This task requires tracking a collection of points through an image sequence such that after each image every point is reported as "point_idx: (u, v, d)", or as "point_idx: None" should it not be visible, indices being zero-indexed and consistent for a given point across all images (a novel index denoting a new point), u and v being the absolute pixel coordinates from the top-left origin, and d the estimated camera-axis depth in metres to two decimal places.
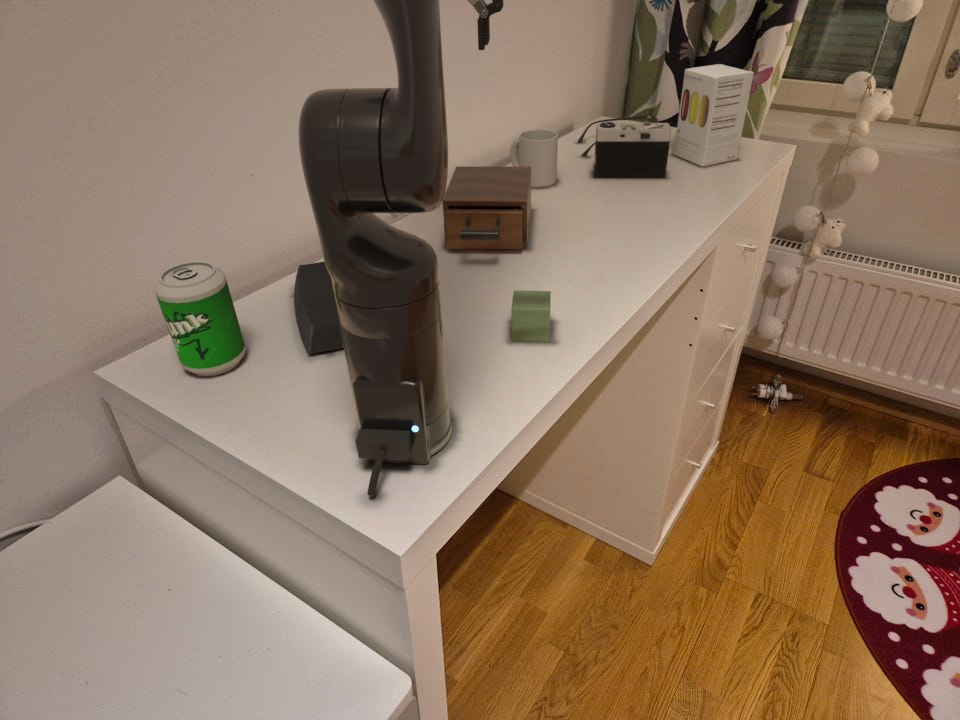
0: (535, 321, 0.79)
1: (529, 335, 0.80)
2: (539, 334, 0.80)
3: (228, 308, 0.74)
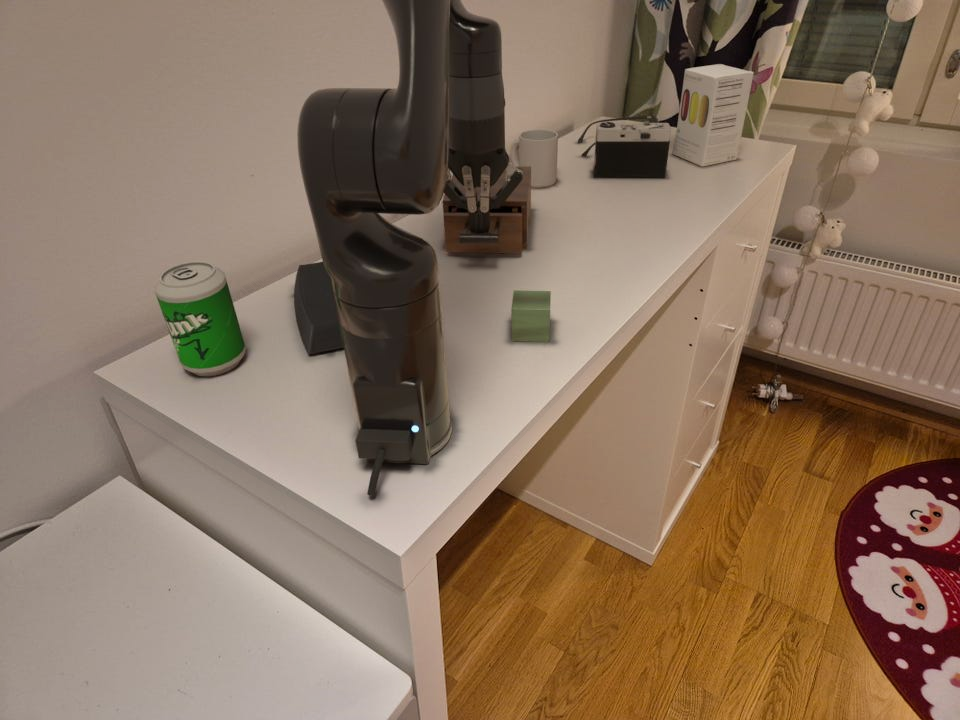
0: (535, 321, 0.79)
1: (529, 335, 0.80)
2: (539, 334, 0.80)
3: (228, 308, 0.74)
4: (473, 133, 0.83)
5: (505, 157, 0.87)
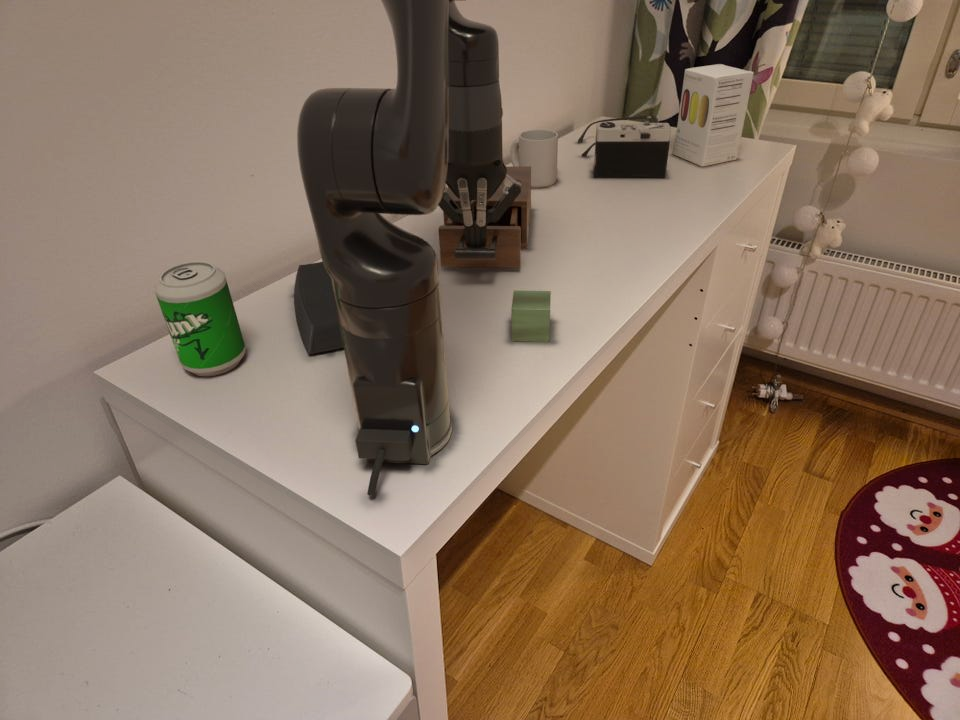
0: (535, 321, 0.79)
1: (529, 335, 0.80)
2: (539, 334, 0.80)
3: (228, 308, 0.74)
4: (469, 145, 0.79)
5: (502, 169, 0.83)
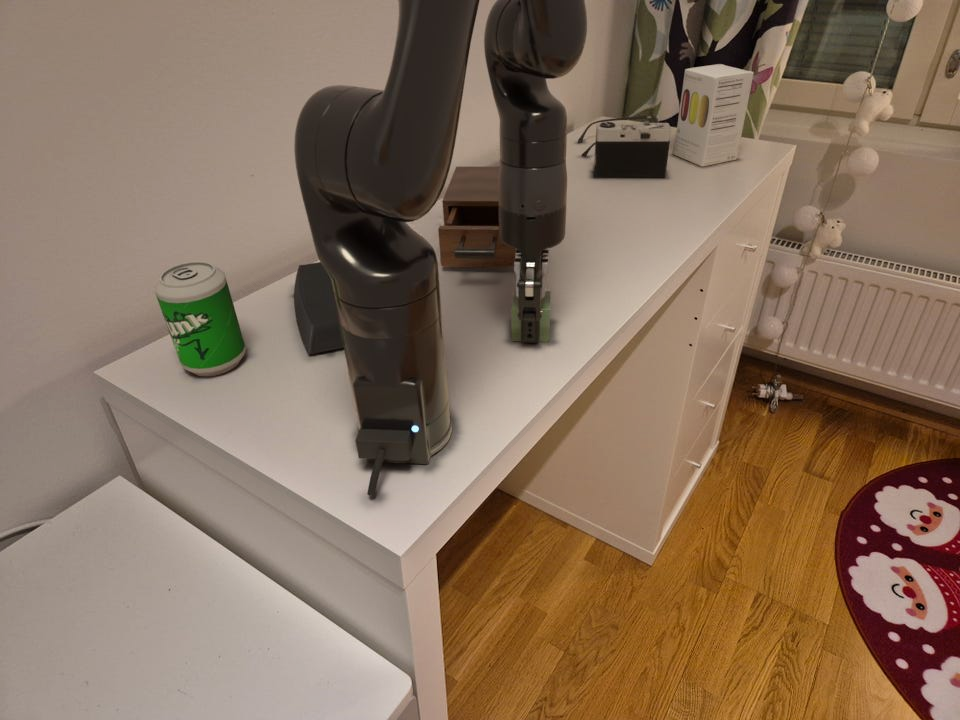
0: None
1: None
2: (539, 334, 0.80)
3: (228, 308, 0.74)
4: None
5: (522, 263, 0.73)
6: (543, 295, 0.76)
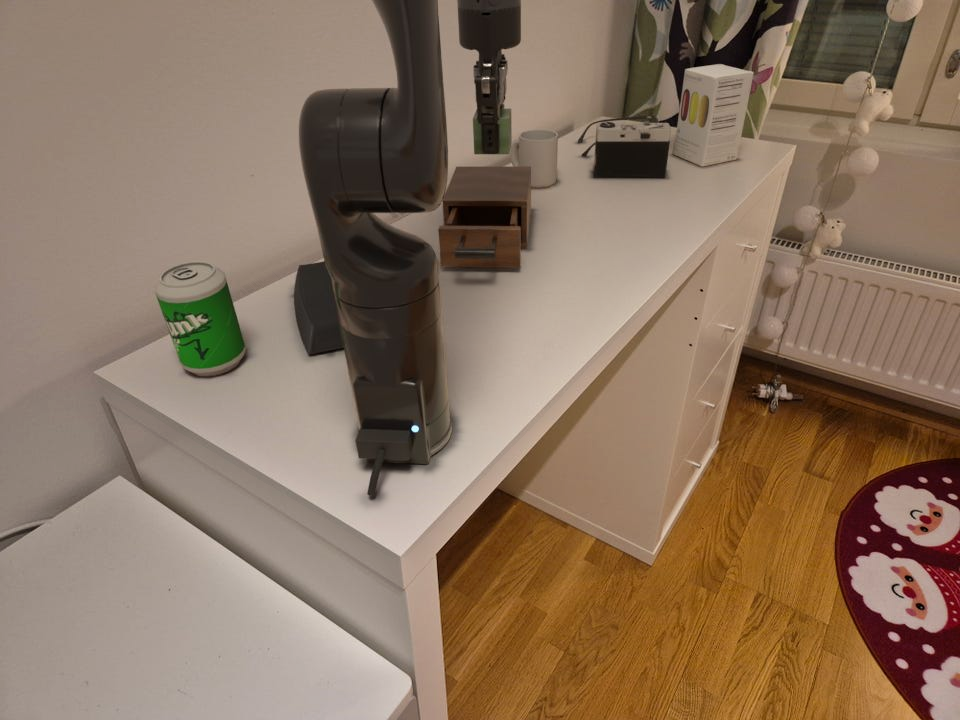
0: None
1: None
2: None
3: (228, 308, 0.74)
4: (458, 21, 0.79)
5: (480, 63, 0.78)
6: (501, 100, 0.81)
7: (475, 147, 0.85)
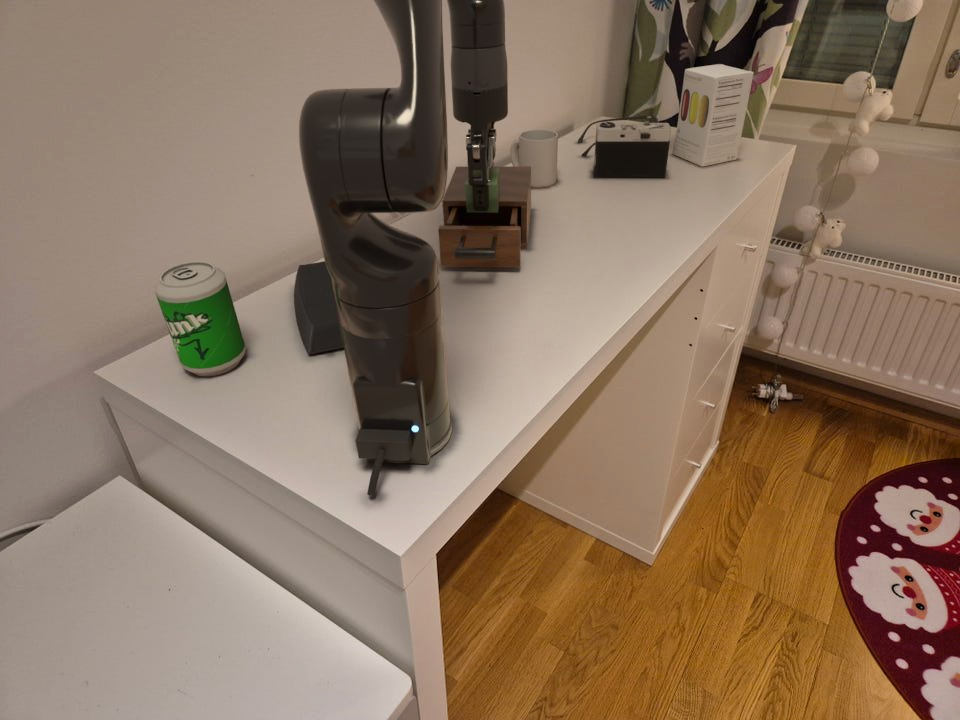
0: None
1: None
2: (489, 206, 0.95)
3: (228, 308, 0.74)
4: (452, 97, 0.89)
5: (471, 134, 0.88)
6: (490, 164, 0.91)
7: (467, 207, 0.96)
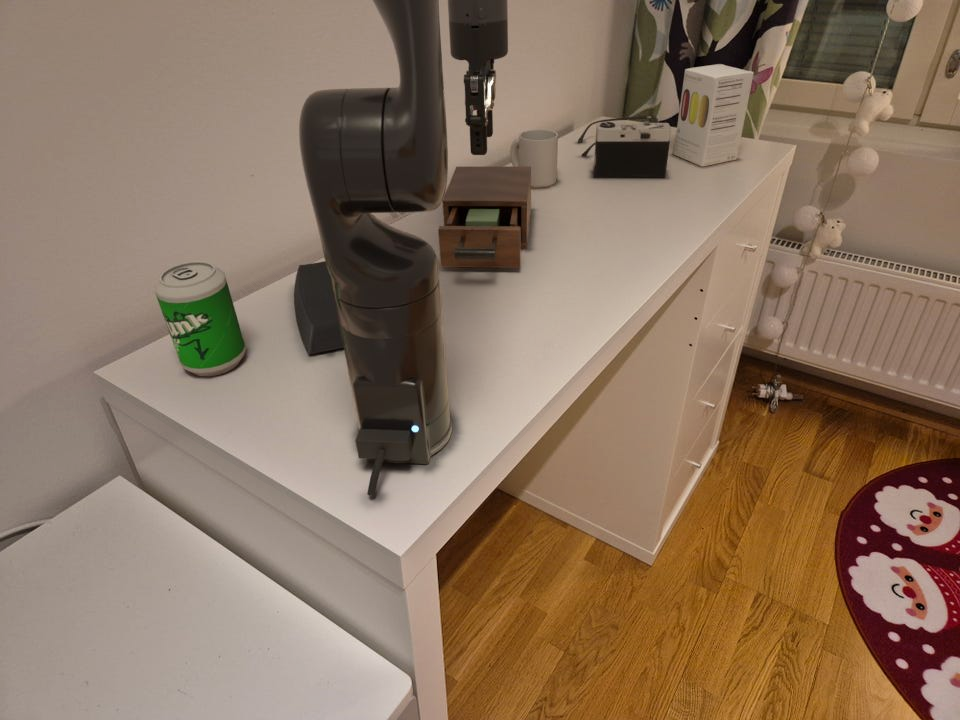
0: None
1: None
2: None
3: (228, 308, 0.74)
4: None
5: (469, 72, 0.84)
6: (489, 103, 0.86)
7: None
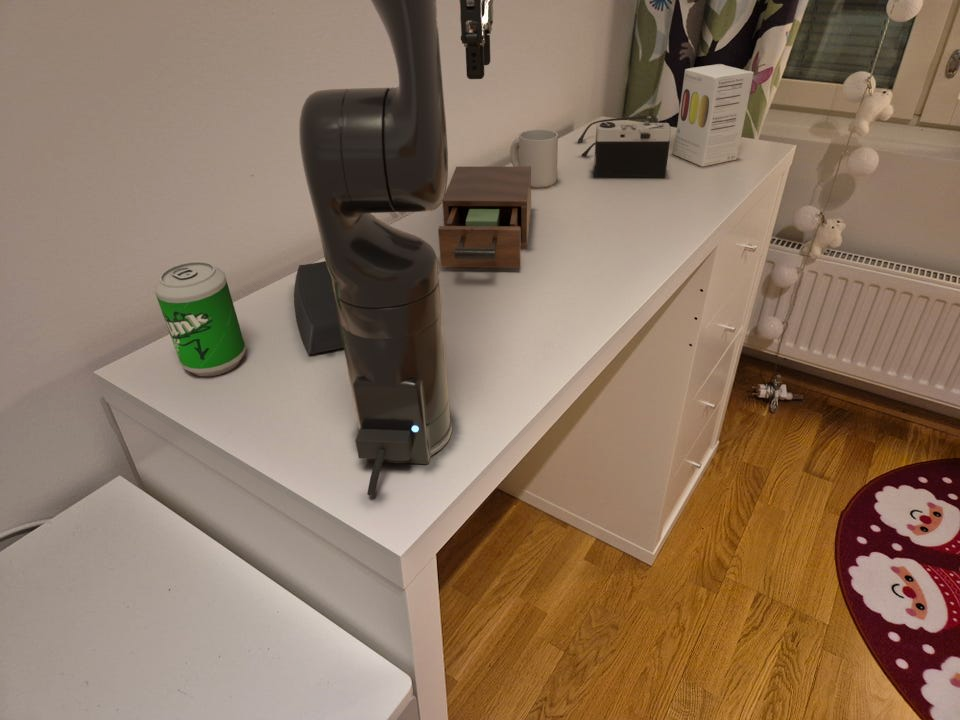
0: None
1: None
2: None
3: (228, 308, 0.74)
4: None
5: None
6: (486, 21, 0.80)
7: None
